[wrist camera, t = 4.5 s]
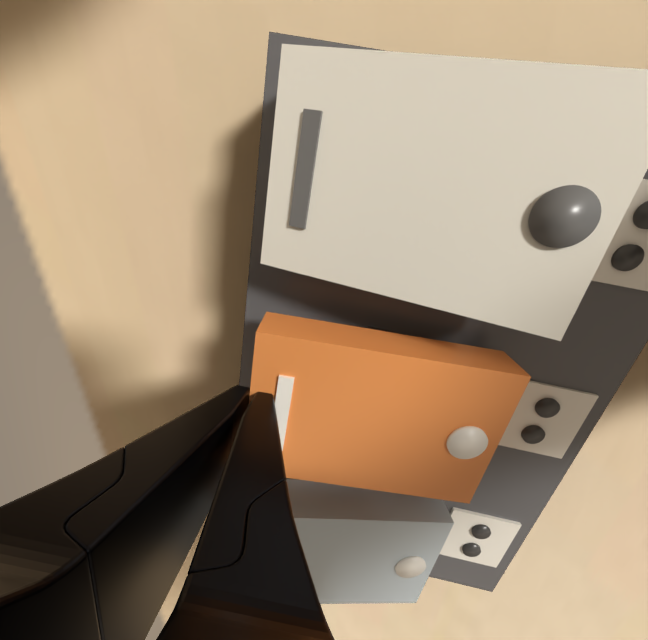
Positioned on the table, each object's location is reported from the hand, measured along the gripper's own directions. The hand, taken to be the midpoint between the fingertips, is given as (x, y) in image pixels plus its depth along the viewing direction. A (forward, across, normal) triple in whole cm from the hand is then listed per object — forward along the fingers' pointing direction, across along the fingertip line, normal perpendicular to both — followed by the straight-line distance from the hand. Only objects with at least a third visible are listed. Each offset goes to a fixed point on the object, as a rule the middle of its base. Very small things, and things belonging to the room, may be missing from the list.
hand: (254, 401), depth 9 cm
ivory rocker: (+1, -3, -6) cm, 7 cm away
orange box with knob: (+1, -3, 0) cm, 4 cm away
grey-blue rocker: (+1, -3, +6) cm, 7 cm away
